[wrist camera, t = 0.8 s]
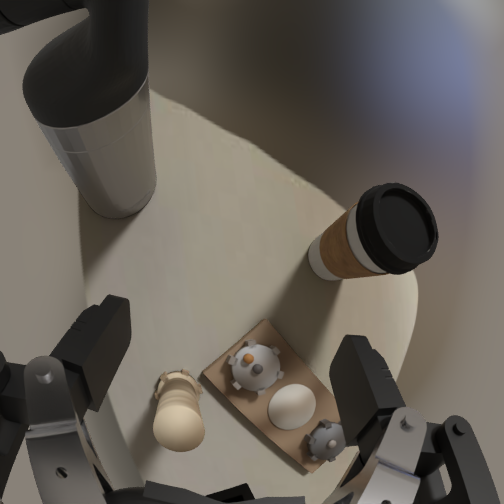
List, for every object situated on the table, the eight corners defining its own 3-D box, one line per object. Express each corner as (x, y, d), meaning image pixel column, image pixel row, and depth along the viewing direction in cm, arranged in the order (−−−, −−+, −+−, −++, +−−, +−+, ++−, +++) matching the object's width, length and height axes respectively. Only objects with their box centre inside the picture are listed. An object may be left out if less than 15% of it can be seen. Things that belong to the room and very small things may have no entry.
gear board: (202, 371, 29) (205, 377, 25) (263, 318, 32) (272, 318, 28) (308, 469, 28) (319, 480, 25) (355, 423, 31) (369, 429, 28)
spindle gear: (147, 385, 27) (130, 423, 15) (179, 360, 28) (178, 386, 17) (178, 418, 27) (180, 469, 15) (209, 393, 28) (227, 434, 17)
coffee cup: (349, 298, 35) (438, 281, 21) (291, 278, 33) (367, 249, 19) (359, 239, 37) (439, 199, 23) (306, 216, 36) (376, 159, 22)
